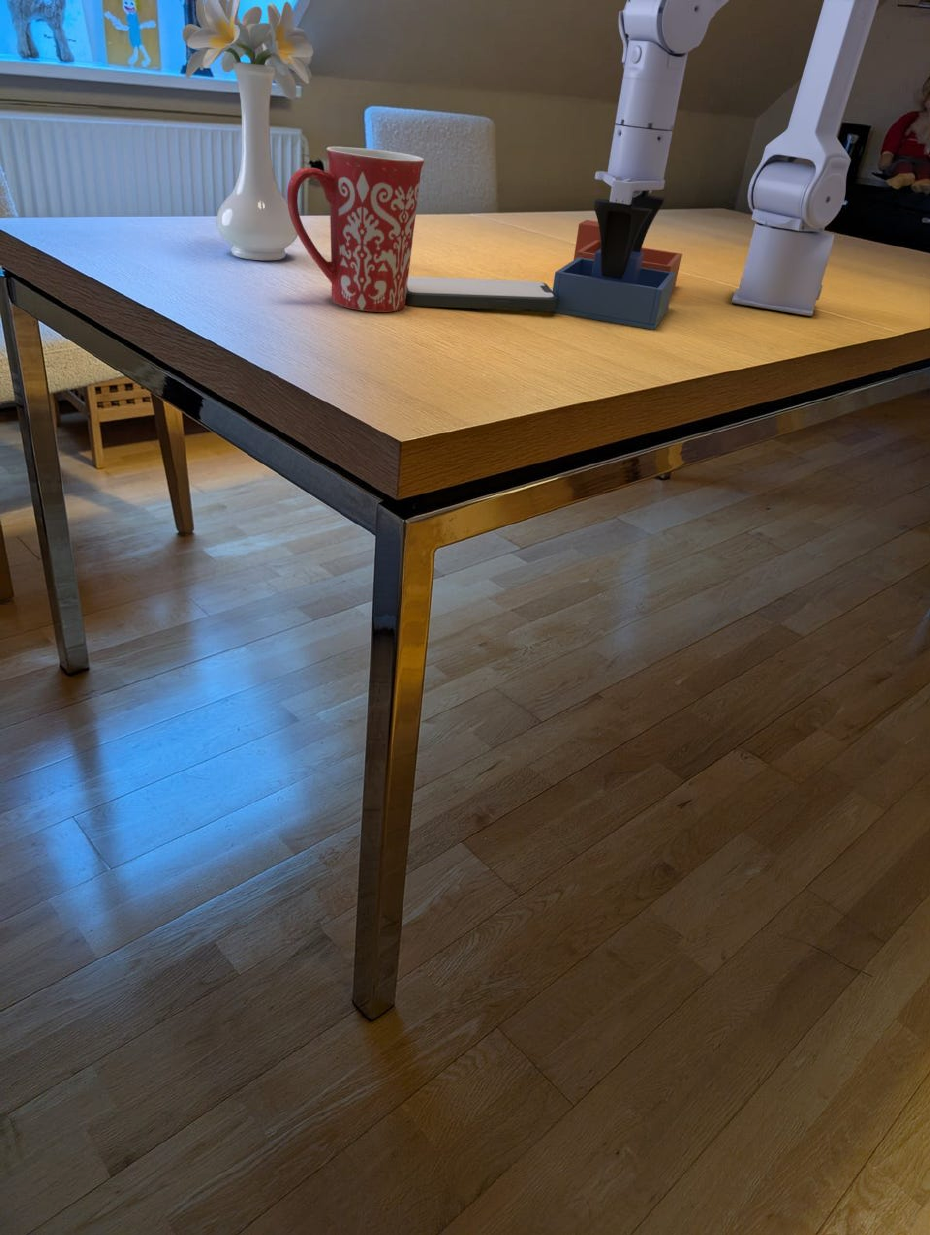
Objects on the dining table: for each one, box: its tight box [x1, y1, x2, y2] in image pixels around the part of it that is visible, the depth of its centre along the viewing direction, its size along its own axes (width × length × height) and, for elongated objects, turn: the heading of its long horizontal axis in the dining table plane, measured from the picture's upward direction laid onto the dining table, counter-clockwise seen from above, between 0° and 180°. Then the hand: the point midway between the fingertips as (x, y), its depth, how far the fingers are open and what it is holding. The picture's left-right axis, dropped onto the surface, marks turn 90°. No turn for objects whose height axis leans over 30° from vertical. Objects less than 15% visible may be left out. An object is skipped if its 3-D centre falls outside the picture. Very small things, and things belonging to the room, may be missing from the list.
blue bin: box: [549, 257, 676, 331], centre depth 95 cm, size 11×11×4 cm
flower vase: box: [182, 0, 314, 262], centre depth 97 cm, size 13×18×25 cm
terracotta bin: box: [576, 240, 683, 291], centre depth 108 cm, size 11×11×4 cm
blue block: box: [591, 249, 644, 285], centre depth 95 cm, size 4×4×6 cm
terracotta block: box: [573, 219, 600, 260], centre depth 116 cm, size 4×4×6 cm
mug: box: [286, 146, 425, 313], centre depth 84 cm, size 13×9×14 cm
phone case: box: [405, 275, 558, 312], centre depth 93 cm, size 9×2×16 cm
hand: (618, 271), depth 94 cm, fingers open, 7 cm apart
